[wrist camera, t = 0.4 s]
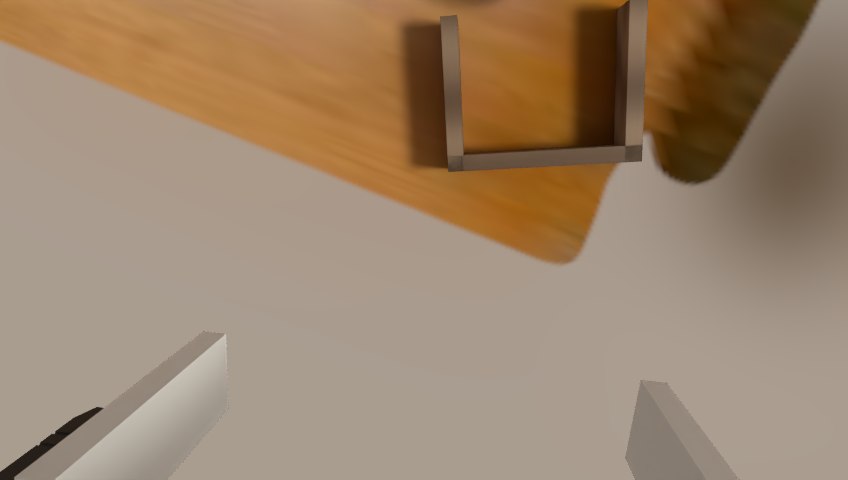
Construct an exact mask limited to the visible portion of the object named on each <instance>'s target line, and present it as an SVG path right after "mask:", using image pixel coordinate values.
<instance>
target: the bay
mask: <svg viewBox="0 0 848 480" xmlns="http://www.w3.org/2000/svg"><path fill="white" fill-rule="evenodd" d="M647 12H648V0H629V1H627V2H626V3H625V4H624V5H622V6H621V7H620V8H619V9H618V10H617V41H616V81H615V121H614V145H597V146H580V147H563V148H546V149H529V150H512V151H495V152H478V153H464V145H463V122H462V99H461V76H460V54H459V31H458V19H457V15H453V16H442V17H440V19H441V39H442V58H443V78H444V97H445V117H446V136H447V156H448V172H455V171H473V170H492V169H510V168H528V167H546V166H565V165H583V164H601V163H619V162H638V161H642V143H643V116H644V90H645V64H646V38H647Z"/></svg>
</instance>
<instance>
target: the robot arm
mask: <svg viewBox="0 0 848 480" xmlns="http://www.w3.org/2000/svg"><path fill="white" fill-rule="evenodd" d="M227 381H228V379H227V353H226V334H222V333H212V332H204V331H203V332H202V333H201V334H199V335H198V336H197V337H196V338H194V339H193V340H192V341H191V342H189V343H188V344H187V345H186V346H184V347H183V348H181V349H180V350H179V351H177V352H176V353H175V354H174V355H173V356H171V357H170V358H168V359H167V360H166V361H165V362H163V363H162V364H161V365H159V366H158V367H157V368H155V369H154V370H153V371H151V372H150V373H149V374H148V375H146V376H145V377H144V378H143V379H141V380H140V381H139V382H137V383H136V384H135V385H133V386H132V387H131V388H129V389H128V390H127V391H126V392H124V393H123V394H122V395H120V396H119V397H118V398H116V399H115V400H114V401H113V402H111V403H110V404H109V405H107V406H106V407H105V408H100V407H96V408H94V409H92V410H90V411H88V412H85V413H83V414H82V415H79V416H77V417H75V418H73V419H72V420H70V421H69V422H68V423H66V424H65V425H63V426H62V427H61V428H59V429H58V430H57V431H56V432H55V434H51V435H50V436H48V437H47V438H46V439H44V440H43V441H42V442H41V443H40V445H39V446H37V445H36V446H35V447H34V448H33V449H31V450H30V451H28V452H27V453H25V454H24V455H23V456H21V457H20V458H19V459H17V460H16V461H15V462H13V463H12V464H11V465H9V466H8V467H6V468H5V469H4V470H2V471H1V472H0V480H168V478H169V477H170V476H171V475H172V474H173V473H174V472H175V470H176V469H177V468H178V467H179V466H180V465H181V463H182V462H183V461H184V460H185V459H186V458H187V456H188V455H189V454H190V453H191V452H192V451H193V449H194V448H195V447H196V446H197V445H198V444H199V442H200V441H201V440H202V439H203V438H204V437H205V435H206V434H207V433H208V432H209V431H210V430H211V428H212V427H213V426H214V425H215V424H216V423H217V421H218V420H219V419H220V418H221V417H222V416H223V414H224V413H225V412H226V411H227V410H228V408H229V407H228V382H227ZM625 458H626V460H627V463H628V465H629V467H630V469H631V471H632V474H633V476H634V478H635V480H739V479H738V477H737V476H736V475H735V473H734V472H733V471H732V469H731V468H730V467H729V465H728V464H727V463H726V461H725V460H724V459H723V457H722V456H721V455H720V453H719V452H718V451H717V449H716V448H715V447H714V445H713V444H712V443H711V441H710V440H709V439H708V437H707V436H706V434H705V433H704V432H703V430H702V429H701V428H700V426H699V425H698V424H697V422H696V421H695V420H694V418H693V417H692V416H691V414H690V413H689V412H688V410H687V409H686V408H685V406H684V405H683V404H682V402H681V401H680V400H679V398H678V397H677V396H676V394H675V393H674V392H673V390H672V389H671V388H670V386H669V385H668V384H667V383H663V382H654V381H645V380H641V382H640V387H639V392H638V397H637V402H636V407H635V412H634V417H633V422H632V427H631V432H630V437H629V442H628V447H627V452H626V457H625Z"/></svg>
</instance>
